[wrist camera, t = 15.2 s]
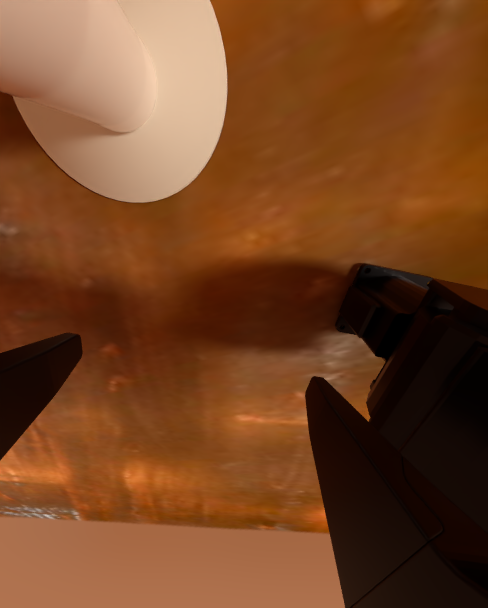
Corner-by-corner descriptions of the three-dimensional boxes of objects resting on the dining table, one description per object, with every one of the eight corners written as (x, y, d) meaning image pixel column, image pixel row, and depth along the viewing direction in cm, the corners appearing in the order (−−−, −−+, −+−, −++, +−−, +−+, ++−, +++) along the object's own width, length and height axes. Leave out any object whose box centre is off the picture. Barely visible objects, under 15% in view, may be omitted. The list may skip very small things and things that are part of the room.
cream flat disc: (247, -55, 12) (247, -61, 12) (211, 219, 18) (210, 220, 18) (-31, -137, 11) (-38, -145, 11) (26, 180, 17) (23, 180, 17)
